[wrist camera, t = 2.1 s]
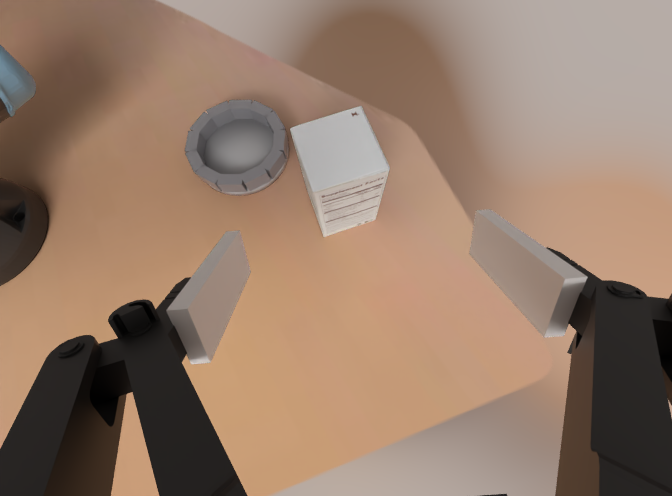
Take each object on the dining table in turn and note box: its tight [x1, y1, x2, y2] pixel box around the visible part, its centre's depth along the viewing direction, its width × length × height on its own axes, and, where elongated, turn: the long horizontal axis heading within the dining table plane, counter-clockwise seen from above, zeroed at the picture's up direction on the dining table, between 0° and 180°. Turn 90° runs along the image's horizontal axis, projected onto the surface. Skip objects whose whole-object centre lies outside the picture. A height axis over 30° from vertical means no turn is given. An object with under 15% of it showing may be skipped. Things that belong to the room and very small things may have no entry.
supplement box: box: [290, 106, 390, 237], centre depth 31 cm, size 7×7×13 cm
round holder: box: [185, 100, 289, 196], centre depth 39 cm, size 13×13×3 cm
